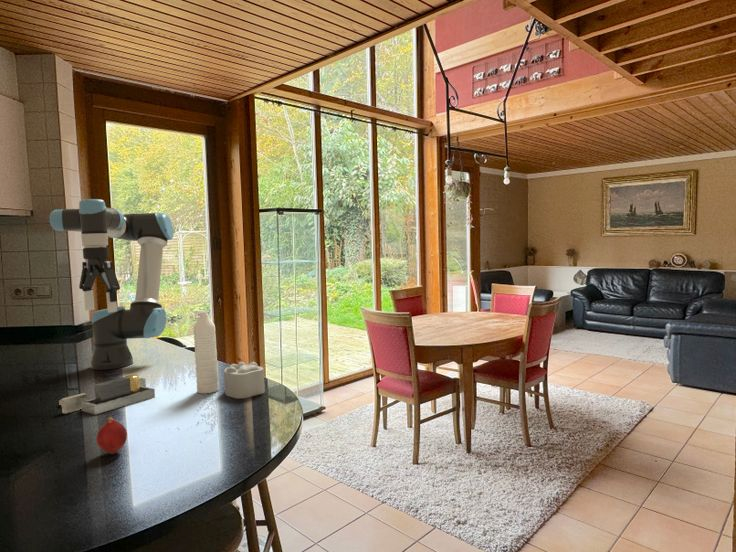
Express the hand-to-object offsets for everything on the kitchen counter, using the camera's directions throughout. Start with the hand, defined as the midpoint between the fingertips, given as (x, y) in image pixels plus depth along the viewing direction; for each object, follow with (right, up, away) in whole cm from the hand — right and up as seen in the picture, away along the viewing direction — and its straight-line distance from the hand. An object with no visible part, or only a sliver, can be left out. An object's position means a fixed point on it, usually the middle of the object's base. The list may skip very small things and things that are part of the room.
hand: (101, 311), depth 160 cm
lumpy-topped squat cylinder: (+50, -24, -12) cm, 57 cm away
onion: (+33, -27, -55) cm, 70 cm away
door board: (+10, -26, -16) cm, 32 cm away
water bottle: (+38, -25, -8) cm, 46 cm away
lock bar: (+16, -26, -19) cm, 36 cm away
